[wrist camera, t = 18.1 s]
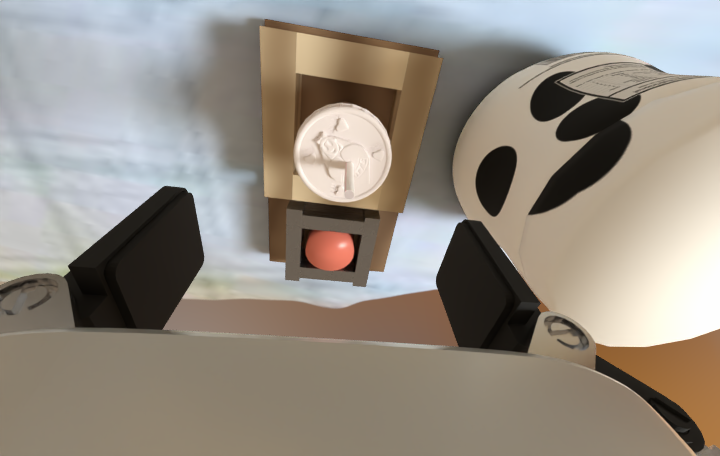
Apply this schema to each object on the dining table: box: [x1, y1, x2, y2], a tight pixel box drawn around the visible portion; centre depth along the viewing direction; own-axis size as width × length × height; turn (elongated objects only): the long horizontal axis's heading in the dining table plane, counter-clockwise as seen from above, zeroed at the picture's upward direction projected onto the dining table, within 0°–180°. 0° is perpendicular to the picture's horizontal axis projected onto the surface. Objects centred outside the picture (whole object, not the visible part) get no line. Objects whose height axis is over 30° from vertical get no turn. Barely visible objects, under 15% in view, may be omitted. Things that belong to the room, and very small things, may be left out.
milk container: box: [453, 52, 720, 347], centre depth 22 cm, size 17×17×18 cm
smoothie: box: [294, 102, 392, 202], centre depth 21 cm, size 6×6×14 cm
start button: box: [305, 229, 354, 271], centre depth 31 cm, size 5×5×3 cm
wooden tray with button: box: [260, 19, 443, 287], centre depth 29 cm, size 14×24×5 cm, turn 171°
